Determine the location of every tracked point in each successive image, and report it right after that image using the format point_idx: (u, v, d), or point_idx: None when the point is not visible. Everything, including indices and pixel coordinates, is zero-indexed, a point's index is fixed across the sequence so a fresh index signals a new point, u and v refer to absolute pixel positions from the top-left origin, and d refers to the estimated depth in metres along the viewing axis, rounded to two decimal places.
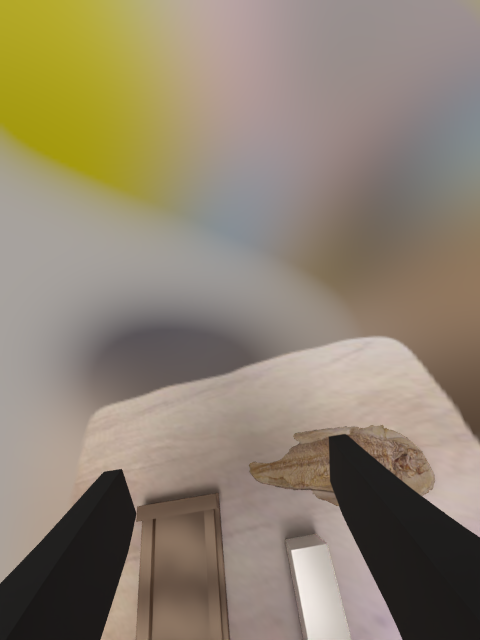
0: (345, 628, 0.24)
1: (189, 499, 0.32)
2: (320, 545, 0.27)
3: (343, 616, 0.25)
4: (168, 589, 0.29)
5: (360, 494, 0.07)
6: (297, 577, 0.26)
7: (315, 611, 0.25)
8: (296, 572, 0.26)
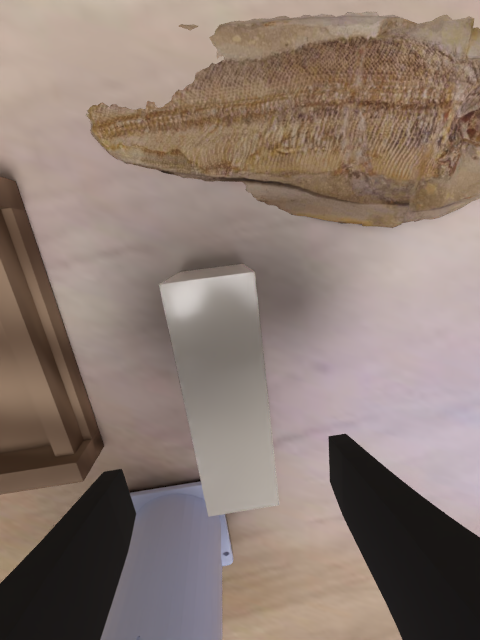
0: (262, 400, 0.12)
1: None
2: (236, 275, 0.11)
3: (262, 385, 0.12)
4: None
5: (359, 493, 0.07)
6: (172, 332, 0.11)
7: (205, 380, 0.12)
8: (170, 324, 0.11)
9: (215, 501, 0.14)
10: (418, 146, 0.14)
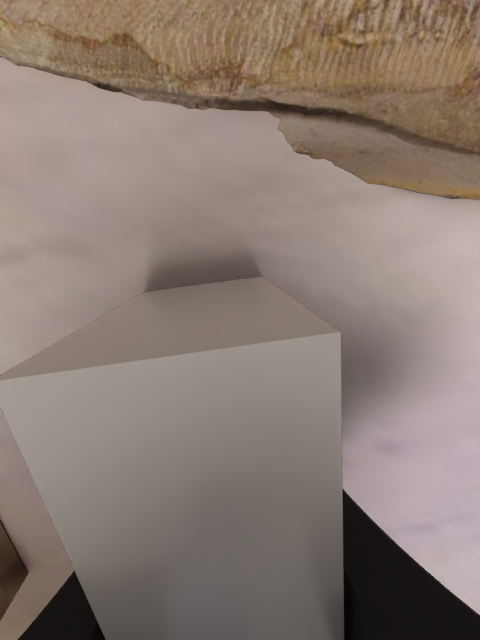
0: None
1: None
2: (274, 343, 0.03)
3: (332, 619, 0.04)
4: None
5: None
6: (62, 519, 0.03)
7: (178, 622, 0.04)
8: (52, 498, 0.03)
9: None
10: None
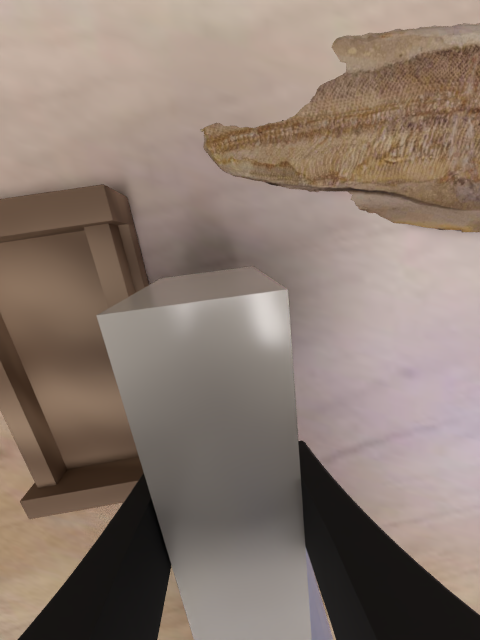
0: (292, 506, 0.07)
1: (27, 198, 0.11)
2: (251, 296, 0.05)
3: (293, 484, 0.07)
4: (51, 360, 0.15)
5: (305, 502, 0.07)
6: (128, 403, 0.06)
7: (194, 480, 0.07)
8: (124, 388, 0.06)
9: None
10: None
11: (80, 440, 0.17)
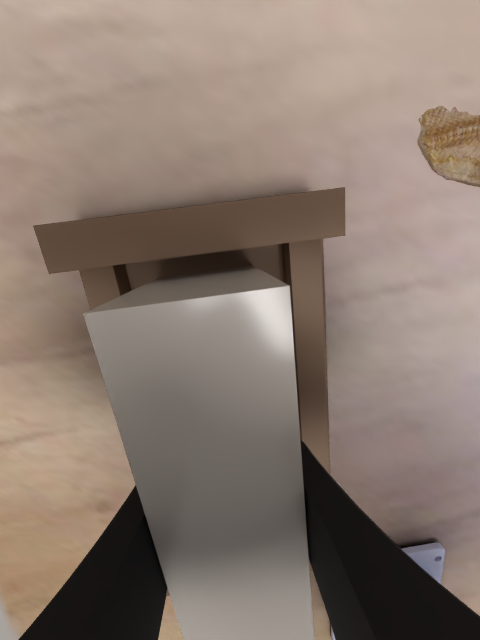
0: (294, 519, 0.07)
1: (242, 204, 0.08)
2: (250, 293, 0.05)
3: (296, 495, 0.06)
4: None
5: None
6: (118, 408, 0.05)
7: (189, 491, 0.06)
8: (114, 393, 0.05)
9: None
10: None
11: None
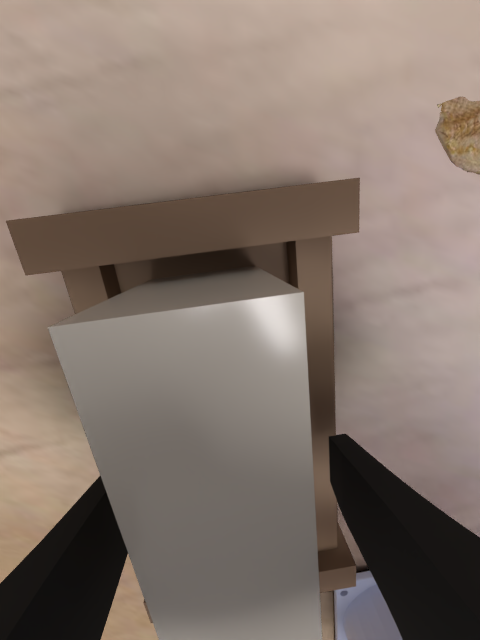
0: (305, 561, 0.06)
1: (244, 197, 0.07)
2: (255, 301, 0.04)
3: (307, 535, 0.06)
4: None
5: (359, 493, 0.07)
6: (95, 439, 0.05)
7: (182, 532, 0.05)
8: (89, 421, 0.04)
9: None
10: None
11: None
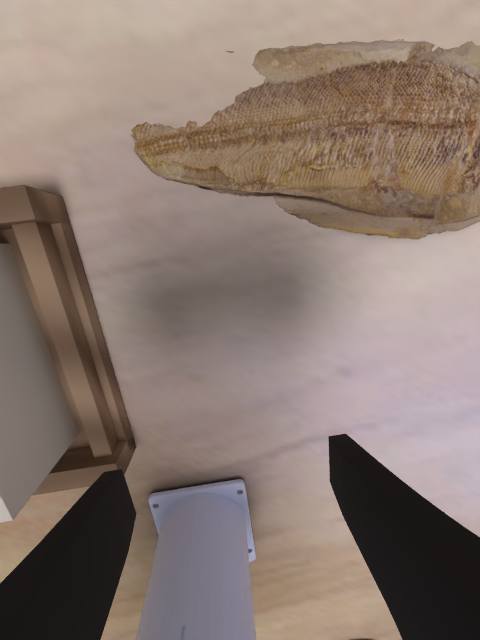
0: None
1: None
2: None
3: None
4: None
5: (359, 494, 0.07)
6: None
7: None
8: None
9: None
10: (443, 163, 0.15)
11: None
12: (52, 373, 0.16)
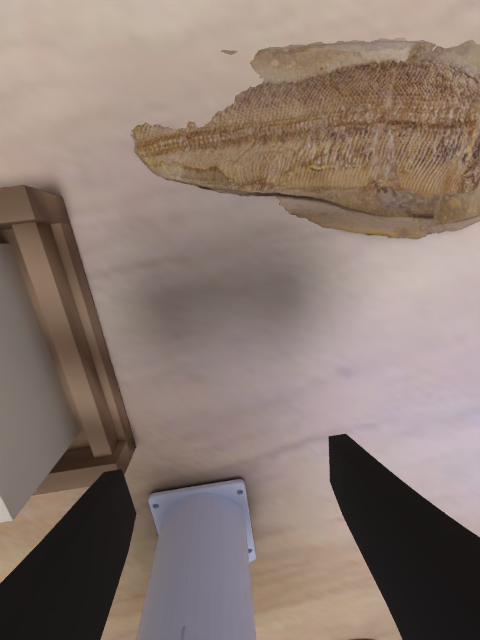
0: None
1: None
2: None
3: None
4: None
5: (359, 493, 0.07)
6: None
7: None
8: None
9: None
10: (443, 163, 0.15)
11: None
12: (52, 373, 0.16)
